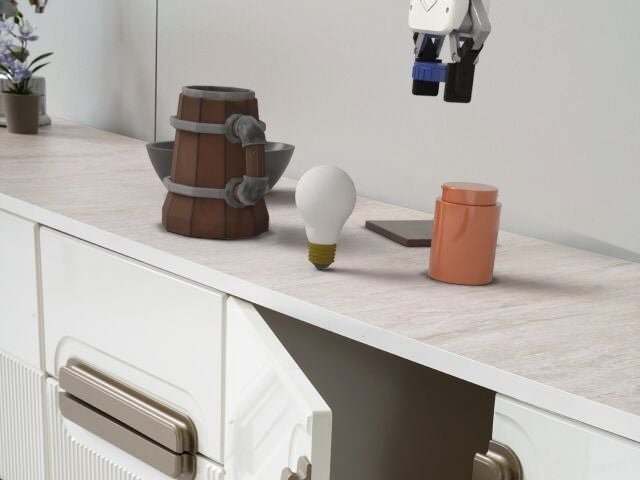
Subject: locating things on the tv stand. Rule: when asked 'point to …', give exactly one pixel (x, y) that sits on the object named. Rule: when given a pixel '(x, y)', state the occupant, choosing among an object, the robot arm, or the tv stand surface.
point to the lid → (429, 71)
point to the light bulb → (324, 209)
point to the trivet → (404, 230)
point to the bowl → (274, 159)
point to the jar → (465, 233)
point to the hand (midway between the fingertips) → (440, 97)
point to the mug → (217, 165)
